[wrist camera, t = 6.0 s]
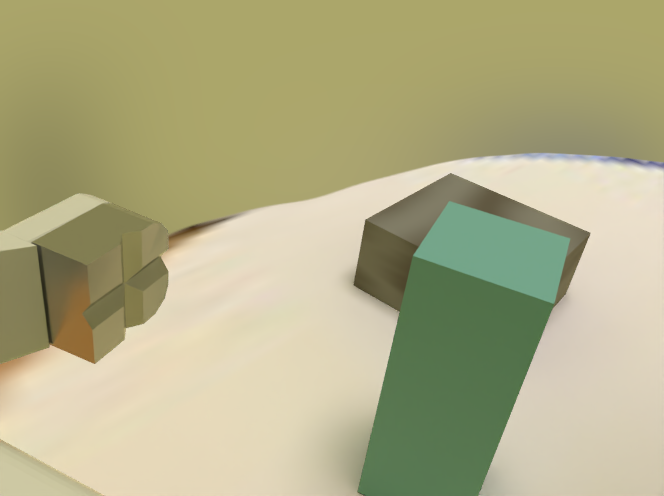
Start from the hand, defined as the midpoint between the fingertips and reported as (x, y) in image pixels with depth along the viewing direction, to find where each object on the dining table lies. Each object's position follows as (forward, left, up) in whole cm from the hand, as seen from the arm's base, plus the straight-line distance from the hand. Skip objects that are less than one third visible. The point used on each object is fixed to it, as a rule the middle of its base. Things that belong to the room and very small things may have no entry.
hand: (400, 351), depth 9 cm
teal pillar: (0, -12, -17) cm, 21 cm away
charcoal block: (+2, -27, -17) cm, 32 cm away
